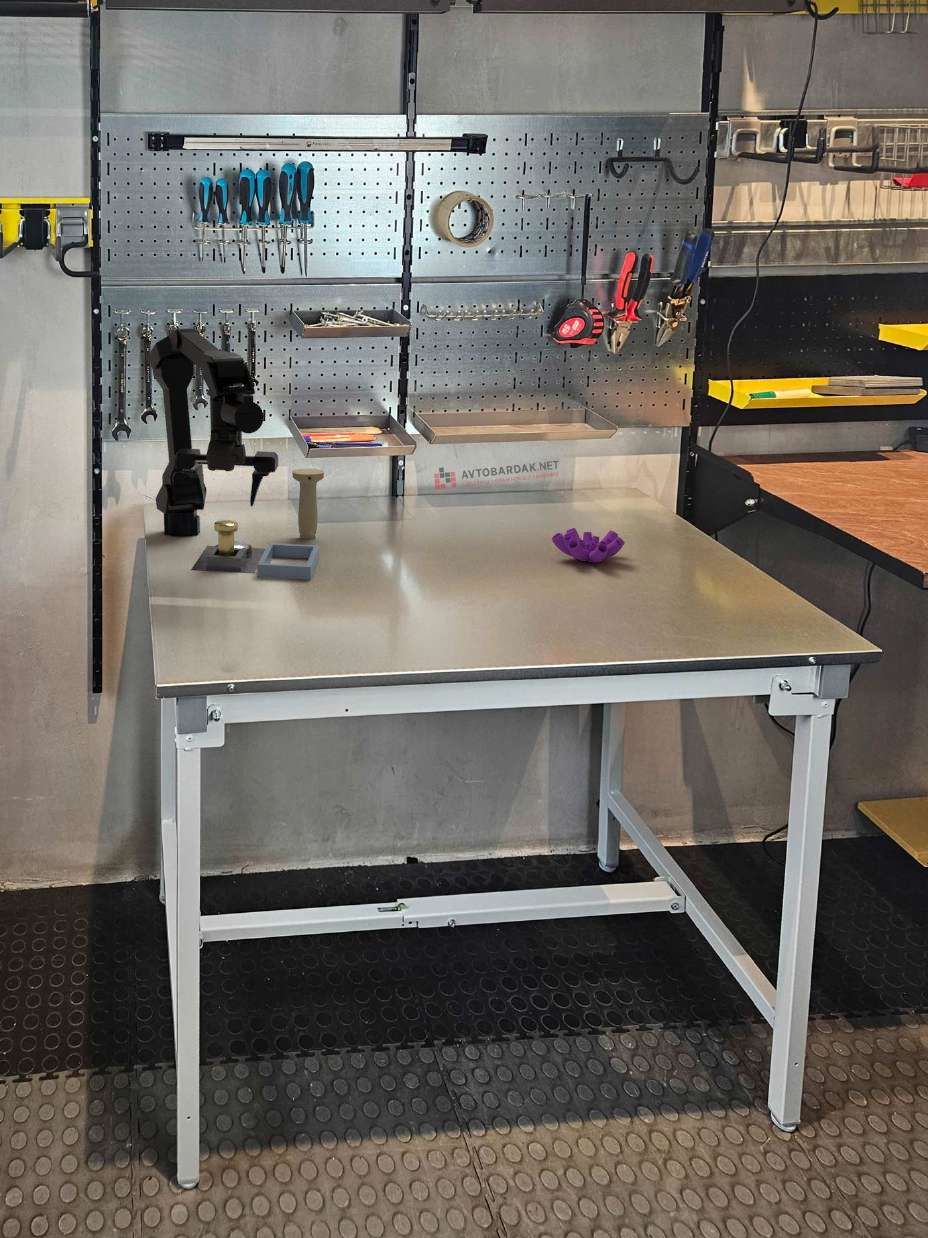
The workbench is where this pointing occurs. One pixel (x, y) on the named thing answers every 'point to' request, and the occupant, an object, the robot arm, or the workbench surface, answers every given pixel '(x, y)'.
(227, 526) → the pin
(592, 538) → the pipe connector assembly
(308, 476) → the handle
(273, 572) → the pin tray
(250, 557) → the grey socket base
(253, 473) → the robot arm
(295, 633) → the workbench surface
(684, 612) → the workbench surface
